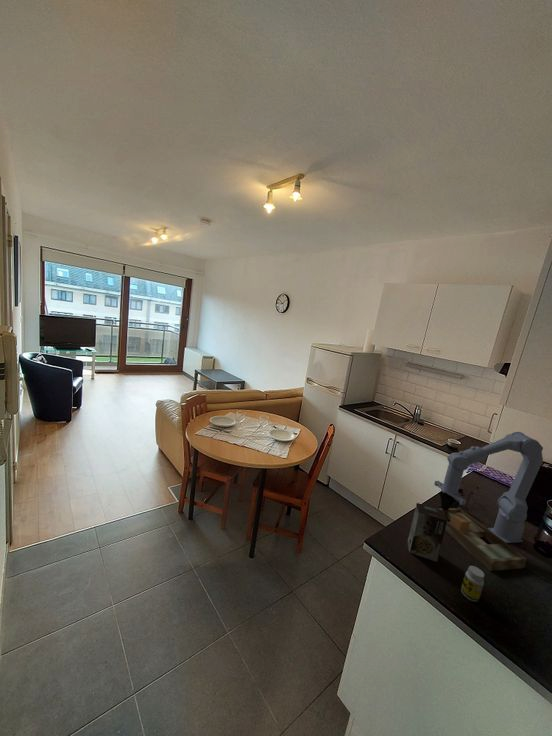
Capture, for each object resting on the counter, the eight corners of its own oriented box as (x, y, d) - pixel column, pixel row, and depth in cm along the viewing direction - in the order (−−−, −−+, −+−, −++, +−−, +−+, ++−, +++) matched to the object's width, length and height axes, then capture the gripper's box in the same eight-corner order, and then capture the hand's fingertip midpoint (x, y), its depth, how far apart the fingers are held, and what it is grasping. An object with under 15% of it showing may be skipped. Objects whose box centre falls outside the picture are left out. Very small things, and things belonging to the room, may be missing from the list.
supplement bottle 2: (456, 587, 89) (463, 563, 88) (470, 588, 90) (477, 564, 89) (468, 602, 85) (475, 577, 83) (482, 602, 85) (490, 578, 84)
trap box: (458, 515, 129) (460, 508, 129) (524, 567, 102) (527, 558, 102) (429, 516, 125) (431, 508, 125) (490, 571, 98) (493, 561, 98)
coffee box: (433, 550, 104) (443, 510, 102) (437, 562, 98) (448, 521, 96) (406, 540, 107) (416, 501, 105) (408, 552, 101) (419, 511, 99)
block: (458, 523, 119) (460, 514, 119) (467, 530, 115) (470, 521, 114) (449, 523, 118) (452, 514, 117) (459, 531, 114) (461, 522, 113)
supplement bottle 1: (462, 513, 131) (468, 491, 129) (448, 510, 132) (454, 488, 130) (456, 506, 137) (462, 484, 135) (443, 502, 138) (449, 481, 136)
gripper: (431, 471, 127) (424, 499, 129) (459, 490, 114) (451, 521, 116) (444, 472, 129) (437, 499, 131) (473, 490, 115) (464, 521, 117)
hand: (444, 509), depth 123 cm, fingers closed
